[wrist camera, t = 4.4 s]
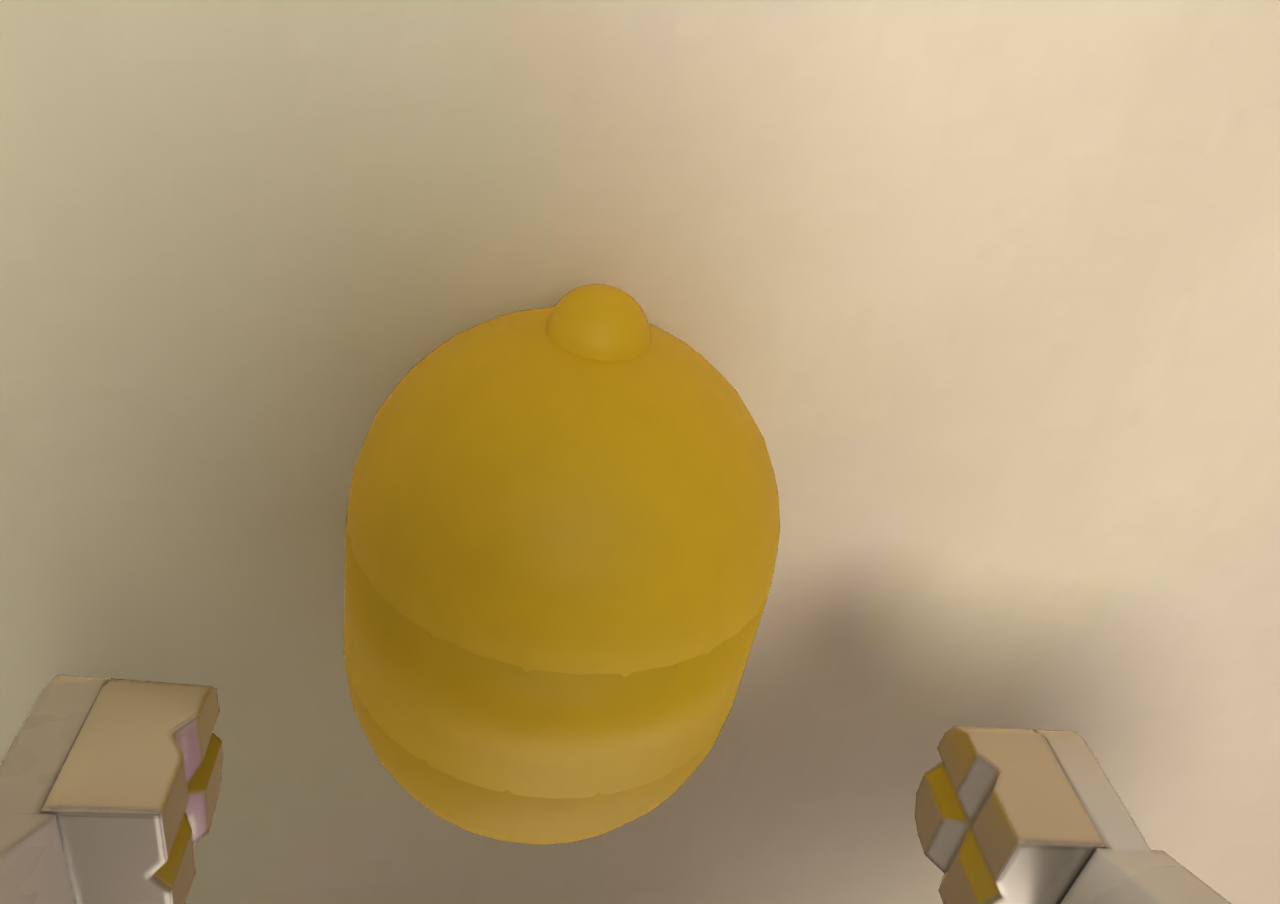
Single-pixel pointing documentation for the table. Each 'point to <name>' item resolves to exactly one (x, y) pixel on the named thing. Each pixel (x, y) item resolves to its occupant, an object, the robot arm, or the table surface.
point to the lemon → (555, 569)
